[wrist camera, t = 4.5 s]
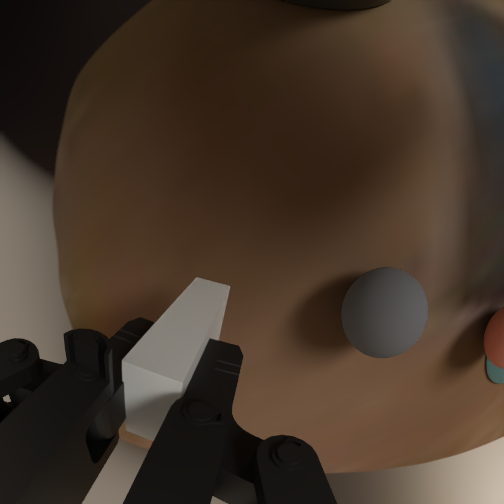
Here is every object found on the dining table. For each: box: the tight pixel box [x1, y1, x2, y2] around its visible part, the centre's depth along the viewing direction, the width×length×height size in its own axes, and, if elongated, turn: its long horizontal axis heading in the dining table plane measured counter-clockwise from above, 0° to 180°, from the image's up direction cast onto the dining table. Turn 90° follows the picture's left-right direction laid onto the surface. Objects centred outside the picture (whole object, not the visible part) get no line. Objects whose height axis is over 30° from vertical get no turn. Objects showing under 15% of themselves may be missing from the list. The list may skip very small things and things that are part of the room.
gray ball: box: [341, 267, 428, 358], centre depth 15 cm, size 6×6×6 cm
